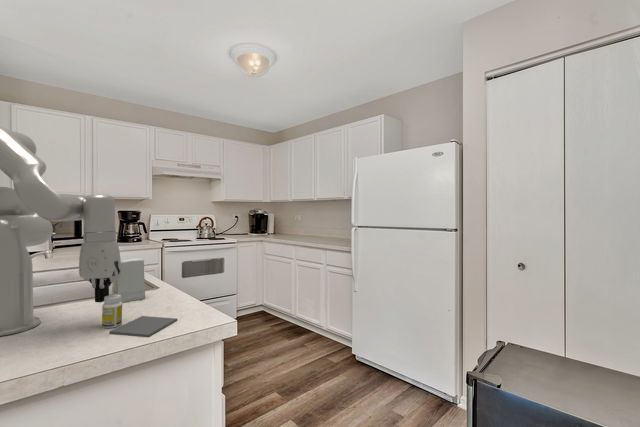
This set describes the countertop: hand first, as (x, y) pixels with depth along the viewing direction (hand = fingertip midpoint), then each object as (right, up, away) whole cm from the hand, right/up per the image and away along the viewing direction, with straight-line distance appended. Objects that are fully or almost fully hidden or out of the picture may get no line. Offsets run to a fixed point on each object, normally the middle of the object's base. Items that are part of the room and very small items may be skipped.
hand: (102, 300), depth 90 cm
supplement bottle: (+3, -7, -1) cm, 8 cm away
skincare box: (-7, -7, +25) cm, 26 cm away
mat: (+13, -7, -1) cm, 15 cm away
